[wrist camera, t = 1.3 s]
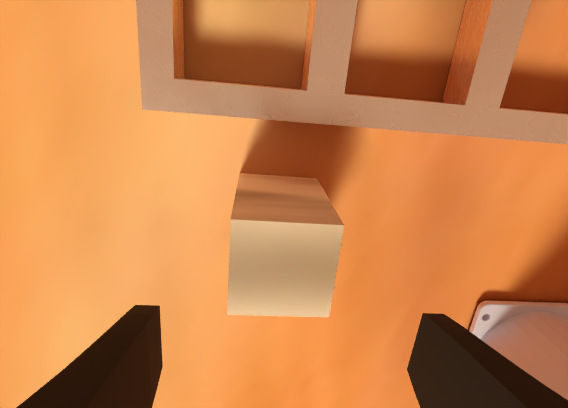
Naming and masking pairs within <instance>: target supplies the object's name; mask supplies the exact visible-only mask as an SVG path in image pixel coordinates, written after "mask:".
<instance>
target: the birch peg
mask: <svg viewBox="0 0 568 408" xmlns="http://www.w3.org/2000/svg"><path fill="white" fill-rule="evenodd" d="M343 229H344V224H343V223H342V221H341V219H340V217H339V216H338V214H337V212H336V210H335V209H334V207H333V205H332V203H331V202H330V200H329V198H328V196H327V195H326V193H325V191H324V189H323V188H322V186H321V184H320V182H319V181H318V179H317V178H307V177H292V176H277V175H262V174H247V173H240V175H239V180H238V185H237V190H236V195H235V200H234V205H233V210H232V215H231V224H230V252H229V280H228V308H227V315H259V316H297V317H329V315H330V309H331V302H332V296H333V290H334V284H335V278H336V272H337V266H338V260H339V254H340V247H341V241H342V235H343Z"/></svg>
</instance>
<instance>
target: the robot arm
mask: <svg viewBox="0 0 568 408" xmlns="http://www.w3.org/2000/svg"><path fill="white" fill-rule="evenodd" d="M483 315H484V316H483ZM161 370H162V347H161V326H160V306H150V305H135V306H134V307H133V308H131V309H130V310H129V311H128V312H127V313H126V314H125V315H124V316H123V317H121V318H120V319H119V320H118V321H117V322H116V323H115V324H114V325H113V326H112V327H111V328H110V329H108V330H107V331H106V332H105V333H104V334H103V335H102V336H101V337H100V338H99V339H97V340H96V341H95V342H94V343H93V344H92V345H91V346H90V347H89V348H87V349H86V350H85V351H84V352H83V353H82V354H81V355H79V356H78V357H77V358H76V359H75V360H74V361H73V362H71V363H70V364H69V365H68V366H67V367H66V368H65V369H63V370H62V371H61V372H60V373H59V374H57V375H56V376H55V377H54V378H53V379H51V380H50V381H49V382H48V383H46V384H45V385H44V386H43V387H41V388H40V389H39V390H38V391H37V392H35V393H34V394H33V395H32V396H30V397H29V398H28V399H27V400H25V401H24V402H23V403H22V404H20V405H19V406H18V407H17V408H152V405H153V401H154V398H155V394H156V390H157V386H158V382H159V378H160V374H161ZM407 370H408V373H409V376H410V379H411V382H412V386H413V389H414V391H415V394H416V397H417V400H418V402H419V405H420V408H568V303H549V302H518V301H488V300H487V301H483V302H481V303H480V304H479V305H478V307H477V310H476V313H475V315H474V318H473V321H472V324H471V327H470V330H469V331H468V330H467V329H465V328H464V327H463V326H461V325H460V324H458V323H457V322H455V321H454V320H452V319H451V318H449V317H448V316H446V315H444V314H427V313H423V315H422V318H421V322H420V325H419V329H418V332H417V336H416V340H415V343H414V347H413V350H412V354H411V357H410V361H409V364H408V368H407Z"/></svg>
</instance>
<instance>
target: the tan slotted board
mask: <svg viewBox="0 0 568 408" xmlns="http://www.w3.org/2000/svg"><path fill="white" fill-rule="evenodd" d="M531 1H532V0H466V4H465V8H464V12H463V17H462V21H461V25H460V29H459V33H458V37H457V42H456V46H455V50H454V54H453V58H452V62H451V66H450V71H449V75H448V79H447V83H446V87H445V91H444V96H443V100H442V102H436V101H425V100H414V99H403V98H392V97H381V96H371V95H360V94H349V93H345V86H346V79H347V72H348V65H349V58H350V51H351V44H352V37H353V30H354V23H355V16H356V9H357V2H358V0H310V7H309V17H308V27H307V37H306V47H305V57H304V67H303V77H302V86H301V89H294V88H283V87H272V86H261V85H250V84H239V83H228V82H217V81H206V80H195V79H185V78H184V20H183V0H136V4H137V22H138V40H139V58H140V76H141V93H142V109H144V110H156V111H168V112H180V113H193V114H205V115H217V116H229V117H241V118H254V119H266V120H278V121H290V122H303V123H315V124H327V125H339V126H351V127H364V128H376V129H388V130H400V131H412V132H425V133H437V134H449V135H461V136H474V137H486V138H498V139H510V140H522V141H535V142H547V143H559V144H568V114H567V113H557V112H546V111H535V110H524V109H513V108H502V107H500V104H501V101H502V98H503V94H504V91H505V88H506V84H507V81H508V78H509V74H510V71H511V68H512V64H513V61H514V58H515V54H516V51H517V48H518V44H519V41H520V38H521V34H522V31H523V28H524V24H525V21H526V18H527V14H528V11H529V8H530V4H531Z"/></svg>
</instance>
